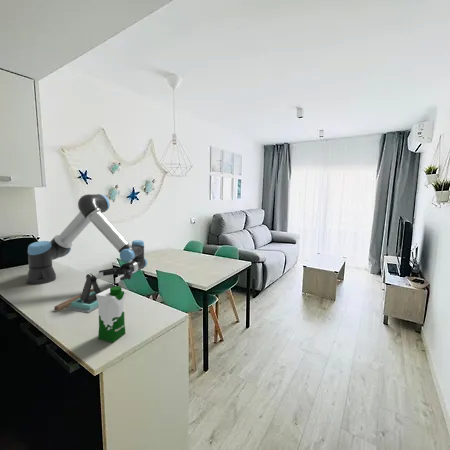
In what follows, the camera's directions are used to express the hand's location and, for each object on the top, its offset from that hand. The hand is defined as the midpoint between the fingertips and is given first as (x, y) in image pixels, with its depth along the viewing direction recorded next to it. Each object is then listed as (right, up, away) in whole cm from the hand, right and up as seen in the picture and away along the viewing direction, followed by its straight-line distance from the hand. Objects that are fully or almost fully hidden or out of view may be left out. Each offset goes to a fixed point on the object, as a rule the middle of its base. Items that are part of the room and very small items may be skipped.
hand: (104, 279), depth 136 cm
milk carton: (+20, -15, -36) cm, 44 cm away
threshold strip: (-11, -10, -6) cm, 16 cm away
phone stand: (-3, -8, -8) cm, 12 cm away
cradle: (-3, -10, -8) cm, 13 cm away
